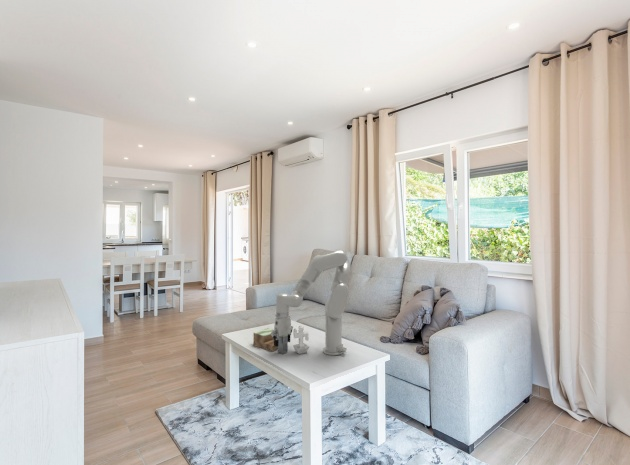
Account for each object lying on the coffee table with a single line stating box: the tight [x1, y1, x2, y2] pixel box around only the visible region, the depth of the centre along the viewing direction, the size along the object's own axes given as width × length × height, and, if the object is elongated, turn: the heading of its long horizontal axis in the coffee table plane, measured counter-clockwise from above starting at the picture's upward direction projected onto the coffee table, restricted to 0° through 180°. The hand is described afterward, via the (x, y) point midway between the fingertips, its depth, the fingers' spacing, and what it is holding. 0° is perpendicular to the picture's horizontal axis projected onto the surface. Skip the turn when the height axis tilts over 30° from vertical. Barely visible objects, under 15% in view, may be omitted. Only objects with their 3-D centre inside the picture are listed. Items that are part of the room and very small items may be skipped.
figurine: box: [292, 325, 310, 355], centre depth 195 cm, size 7×9×15 cm
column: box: [277, 334, 289, 355], centre depth 195 cm, size 4×4×12 cm
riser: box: [253, 327, 278, 352], centre depth 206 cm, size 17×12×8 cm
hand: (282, 343), depth 195 cm, fingers open, 9 cm apart
